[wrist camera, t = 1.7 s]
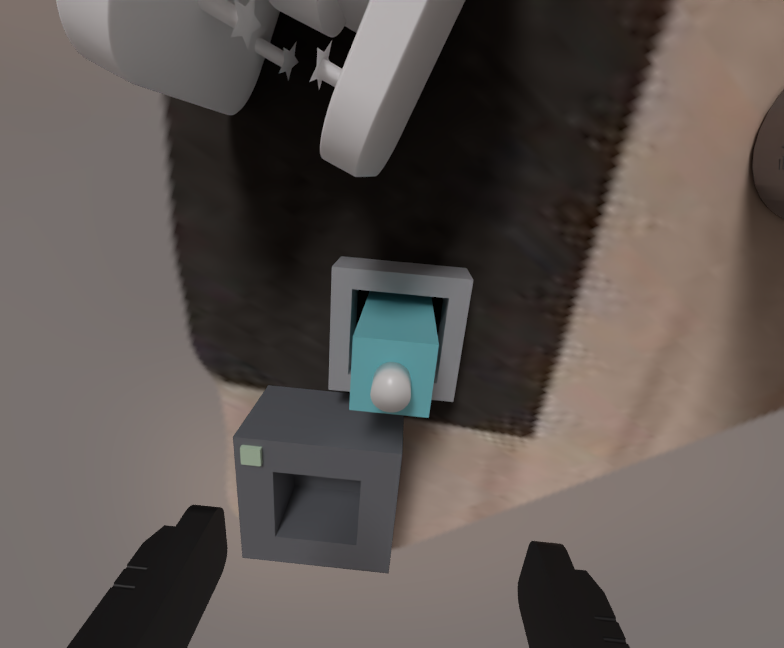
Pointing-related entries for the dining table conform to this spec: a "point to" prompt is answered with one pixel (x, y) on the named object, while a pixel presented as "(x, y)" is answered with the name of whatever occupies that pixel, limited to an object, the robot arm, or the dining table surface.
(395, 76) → the cable organizer
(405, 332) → the plug
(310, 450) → the port
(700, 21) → the dining table surface
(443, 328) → the grey square hollow frame
